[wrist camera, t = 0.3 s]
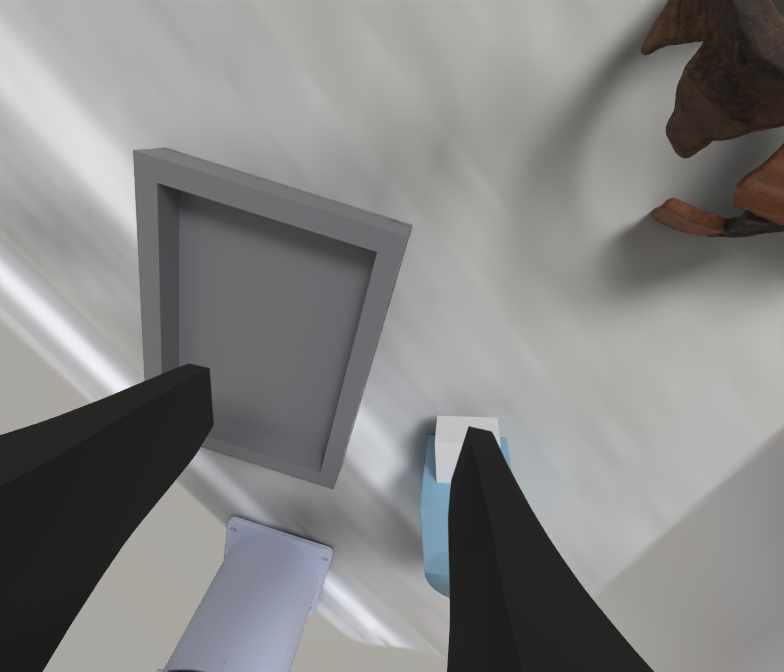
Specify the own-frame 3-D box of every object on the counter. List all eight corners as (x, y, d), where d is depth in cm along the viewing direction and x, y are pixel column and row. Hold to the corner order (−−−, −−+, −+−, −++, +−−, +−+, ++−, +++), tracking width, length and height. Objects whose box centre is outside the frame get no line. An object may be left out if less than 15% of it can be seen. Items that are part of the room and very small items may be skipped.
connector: (501, 524, 26) (509, 606, 21) (432, 519, 26) (426, 597, 22) (508, 400, 21) (520, 470, 17) (425, 397, 22) (416, 465, 18)
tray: (342, 464, 25) (333, 489, 24) (168, 408, 26) (147, 429, 24) (412, 225, 18) (406, 235, 16) (165, 147, 18) (133, 150, 16)
